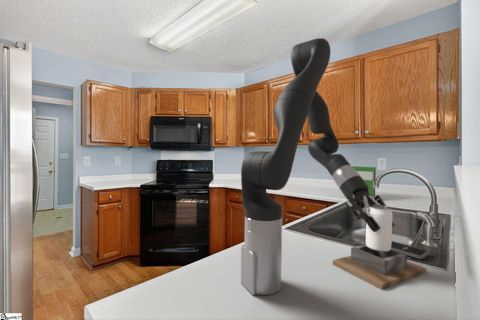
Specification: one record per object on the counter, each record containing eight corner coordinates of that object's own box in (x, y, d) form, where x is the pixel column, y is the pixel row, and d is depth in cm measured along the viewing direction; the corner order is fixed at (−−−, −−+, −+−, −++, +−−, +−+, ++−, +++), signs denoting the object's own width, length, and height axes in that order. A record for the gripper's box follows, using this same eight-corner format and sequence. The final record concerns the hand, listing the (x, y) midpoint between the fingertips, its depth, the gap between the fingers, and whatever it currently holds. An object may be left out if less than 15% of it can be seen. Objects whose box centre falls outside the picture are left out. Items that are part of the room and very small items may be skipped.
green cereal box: (375, 200, 178) (375, 167, 177) (372, 201, 172) (372, 167, 172) (349, 196, 190) (350, 166, 189) (346, 198, 184) (347, 166, 184)
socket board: (381, 289, 59) (382, 269, 59) (332, 264, 72) (333, 247, 72) (426, 272, 68) (426, 254, 68) (375, 252, 82) (375, 237, 81)
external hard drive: (421, 262, 75) (421, 256, 75) (382, 251, 84) (382, 245, 84) (428, 256, 79) (428, 250, 79) (390, 246, 88) (390, 241, 88)
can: (368, 241, 75) (369, 203, 75) (392, 247, 71) (394, 206, 70) (363, 248, 70) (364, 206, 70) (389, 254, 66) (391, 210, 65)
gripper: (341, 175, 73) (377, 225, 63) (371, 174, 80) (409, 219, 69) (327, 190, 78) (359, 239, 68) (357, 187, 84) (390, 231, 74)
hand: (384, 228), depth 69 cm, fingers closed on can, 6 cm apart
